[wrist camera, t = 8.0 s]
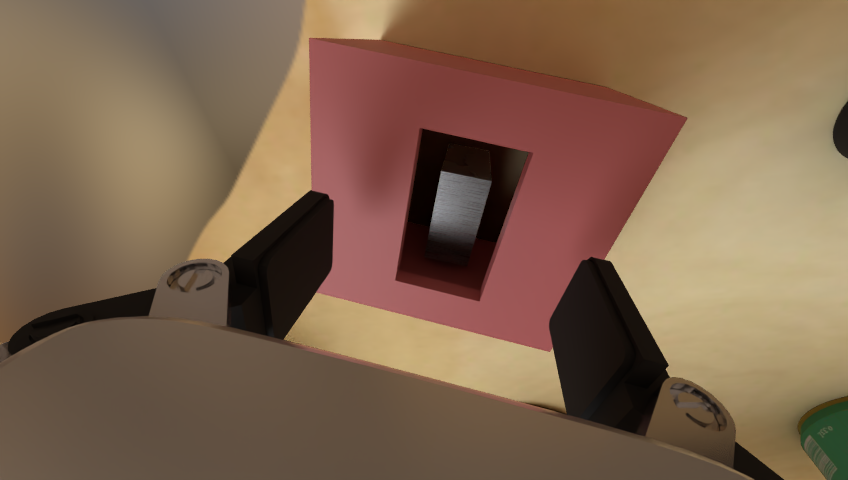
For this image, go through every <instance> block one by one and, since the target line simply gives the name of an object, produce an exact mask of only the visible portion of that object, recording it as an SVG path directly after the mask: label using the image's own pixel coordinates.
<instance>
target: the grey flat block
mask: <svg viewBox="0 0 848 480" xmlns="http://www.w3.org/2000/svg"><path fill="white" fill-rule="evenodd" d="M491 183H492V177H491V166H490V155H489V151H488V150H483V149H478V148H473V147H468V146H463V145H459V144H454V143H449V146H448V149H447V153H446V156H445V159H444V163H443V166H442V170H441V174H440V179H439V184H438V189H437V194H436V199H435V204H434V210H433V215H432V220H431V225H430V230H429V235H428V240H427V245H426V250H425V255H424V257H426V258H430V259H435V260H440V261H444V262H449V263H454V264H458V265H463V266H467V265H468V262H469V259H470V255H471V252H472V248H473V245H474V241H475V238H476V234H477V231H478V228H479V224H480V221H481V217H482V214H483V210H484V207H485V203H486V200H487V197H488V193H489V190H490V186H491Z"/></svg>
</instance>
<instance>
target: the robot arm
mask: <svg viewBox="0 0 848 480" xmlns="http://www.w3.org/2000/svg"><path fill="white" fill-rule="evenodd" d="M333 225H334V201H333V200H332V199H330V198H329V195H328V194H325V193H321V192H316V191H312V190H311V191H309V192H308V193H306V194H305V195H304V196H303V197H302V198H300V199H299V200H298V201H297V202H295V203H294V204H293V205H292V206H291V207H289V208H288V209H287V210H286V211H285V212H283V213H282V214H281V215H280V216H278V217H277V218H276V219H275V220H274V221H272V222H271V223H270V224H269V225H268V226H266V227H265V228H264V229H263V230H261V231H260V232H259V233H258V234H257V235H255V236H254V237H253V238H252V239H251V240H249V241H248V242H247V243H246V244H244V245H243V246H242V247H241V248H240V249H238V250H237V251H236V252H235V253H233V254H232V255H231V257H230V258H229V259H228V260H227V261H225V262H224V263H222V262H220V261H217V260H212V259H196V260H190V261H186V262H183V263H180V264H178V265H176V266H174V267H172V268H170V269H168V270H167V271H166V272H165V273H164V274H163V275H162V276H161V278H160V280H159V282H158V286H157V288H155V289H151V290H146V291H142V292H137V293H133V294H129V295H124V296H119V297H114V298H110V299H106V300H101V301H97V302H92V303H87V304H83V305H78V306H74V307H69V308H64V309H61V310H57V311H54V312H50V313H48V314H46V315H43V316H41V317H38V318H36V319H34V320H32V321H31V322H29V323H28V324H26V325H24V326H23V327H21V328H20V329H19V330H18V331H17V332H16V333H15V334H14V335H13V336H12V337H11V339H10V341H9V342H6V343H3V344H2V343H1V342H0V480H784V479H783V478H781V477H780V476H779V475H777V474H776V473H775V472H774V471H772V470H771V469H770V468H768V467H767V466H766V465H765V464H763V463H762V462H761V461H760V460H758V459H757V458H756V457H754V456H753V455H752V454H751V453H749V452H748V451H747V450H746V449H744V448H743V447H742V446H740V445H739V444H738V443H737V442H735V434H736V430H735V424H734V421H733V419H732V417H731V416H730V414H729V412H728V411H727V410H726V409H725V407H724V406H723V405H722V404H721V403H720V402H719V401H718V400H717V399H716V398H715V397H714V396H713V395H712V394H710V393H709V392H708V391H706V390H705V389H703V388H702V387H700V386H698V385H697V384H695V383H693V382H691V381H688V380H685V379H682V378H676V377H671V378H670V377H669V375H668V373H667V371H666V368H667V367H668V366H669V365H668V363H667V361H666V360H665V358H664V356H663V354H662V352H661V351H660V349H659V347H658V345H657V343H656V342H655V340H654V338H653V336H652V334H651V333H650V331H649V329H648V327H647V325H646V324H645V322H644V320H643V318H642V316H641V315H640V313H639V311H638V309H637V307H636V306H635V304H634V302H633V300H632V299H631V297H630V295H629V293H628V291H627V290H626V288H625V286H624V284H623V282H622V281H621V279H620V277H619V275H618V273H617V272H616V270H615V268H614V266H613V264H612V263H611V262H610V261H607V260H603V259H598V258H594V257H590V258H589V259H587V260H582V261H581V263H580V264H579V266H578V268H577V270H576V272H575V273H574V275H573V277H572V279H571V281H570V283H569V285H568V286H567V288H566V290H565V292H564V294H563V296H562V297H561V299H560V301H559V303H558V305H557V307H556V308H555V310H554V312H553V314H552V316H551V318H550V321H549V331H550V335H551V340H552V345H553V350H554V355H555V359H556V364H557V369H558V374H559V379H560V383H561V388H562V393H563V398H564V402H565V407H566V412H567V415H566V414H563V413H559V412H556V411H552V410H549V409H545V408H540V407H537V406H533V405H529V404H526V403H522V402H518V401H515V400H511V399H507V398H503V397H500V396H496V395H492V394H489V393H485V392H481V391H477V390H474V389H470V388H466V387H462V386H458V385H455V384H451V383H447V382H443V381H440V380H436V379H432V378H428V377H424V376H421V375H417V374H413V373H409V372H406V371H402V370H398V369H394V368H390V367H387V366H383V365H379V364H375V363H371V362H367V361H363V360H360V359H356V358H352V357H348V356H344V355H340V354H336V353H333V352H329V351H325V350H321V349H317V348H313V347H309V346H305V345H302V344H298V343H294V342H290V341H286V340H283V339H284V338H285V336H286V335H287V333H288V332H289V331H290V329H291V328H292V326H293V325H294V323H295V322H296V321H297V319H298V318H299V316H300V315H301V313H302V312H303V310H304V309H305V308H306V306H307V305H308V303H309V302H310V300H311V299H312V297H313V296H314V295H315V293H316V292H317V290H318V289H319V287H320V286H321V285H322V283H323V282H324V280H325V279H326V277H327V276H328V274H329V273H330V271H331V268H332V263H333Z"/></svg>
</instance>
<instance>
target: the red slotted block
mask: <svg viewBox="0 0 848 480" xmlns="http://www.w3.org/2000/svg"><path fill="white" fill-rule="evenodd" d="M309 58H310V117H311V177H312V191H316V192H321V193H325V194H328V195H329V198H330V199H332V200H333V201H334V225H333V263H332V268H331V271H330V273H329V274H328V276H327V277H326V279H325V280H324V282H323V283H322V285H321V286H320V287H319V289H318V290H317V293H321V294H325V295H329V296H333V297H336V298H340V299H344V300H348V301H352V302H356V303H360V304H364V305H368V306H372V307H376V308H380V309H384V310H387V311H391V312H395V313H399V314H403V315H407V316H411V317H415V318H419V319H423V320H427V321H431V322H435V323H438V324H442V325H446V326H450V327H454V328H458V329H462V330H466V331H470V332H474V333H478V334H482V335H486V336H490V337H493V338H497V339H501V340H505V341H509V342H513V343H517V344H521V345H525V346H529V347H533V348H537V349H541V350H544V351H548V352H550V351H551V349H552V347H553V345H552V340H551V335H550V331H549V321H550V318H551V316H552V314H553V312H554V310H555V308H556V307H557V305H558V303H559V301H560V299H561V297H562V296H563V294H564V292H565V290H566V288H567V286H568V285H569V283H570V281H571V279H572V277H573V275H574V273H575V272H576V270H577V268H578V266H579V264H580V263H581V261H582V260H587V259H589V258H590V257H594V258H598V259H603V260H604V259H605V257H606V256H607V254H608V252H609V251H610V249H611V247H612V245H613V244H614V242H615V240H616V239H617V237H618V235H619V234H620V232H621V230H622V228H623V227H624V225H625V223H626V222H627V220H628V218H629V217H630V215H631V213H632V212H633V210H634V208H635V206H636V205H637V203H638V201H639V200H640V198H641V196H642V195H643V193H644V191H645V189H646V188H647V186H648V184H649V183H650V181H651V179H652V178H653V176H654V174H655V172H656V171H657V169H658V167H659V166H660V164H661V162H662V161H663V159H664V157H665V155H666V154H667V152H668V150H669V149H670V147H671V145H672V144H673V142H674V140H675V138H676V137H677V135H678V133H679V132H680V130H681V128H682V127H683V125H684V123H685V121H686V120H687V117H684V116H681V115H679V114H676V113H673V112H671V111H668V110H665V109H663V108H660V107H657V106H655V105H652V104H650V103H647V102H644V101H642V100H639V99H636V98H634V97H631V96H628V95H626V94H623V93H620V92H618V91H615V90H612V89H610V88H607V87H603V86H598V85H593V84H588V83H583V82H579V81H574V80H569V79H564V78H560V77H555V76H550V75H545V74H540V73H536V72H531V71H526V70H521V69H517V68H512V67H507V66H502V65H497V64H493V63H488V62H483V61H478V60H473V59H469V58H464V57H459V56H454V55H450V54H445V53H440V52H435V51H430V50H426V49H421V48H416V47H411V46H407V45H402V44H397V43H392V42H387V41H383V40H365V39H330V38H309ZM423 129H428V130H432V131H437V132H441V133H446V134H450V135H455V136H459V137H464V138H468V139H473V140H477V141H482V142H486V143H491V144H495V145H499V146H504V147H508V148H513V149H517V150H522V151H526V152H529V153H528V156H527V159H526V162H525V165H524V167H523V170H522V173H521V176H520V179H519V182H518V184H517V187H516V190H515V193H514V196H513V199H512V201H511V204H510V207H509V210H508V213H507V216H506V218H505V221H504V224H503V227H502V230H501V233H500V235H499V238H498V241H497V243H495V242H490V241H486V240H482V239H478V238H475V241H474V245H473V248H472V252H471V255H470V259H469V262H468V265H467V266H463V265H458V264H454V263H449V262H444V261H440V260H435V259H430V258H426V257H424V255H425V250H426V245H427V240H428V235H429V230H430V227H428V226H423V225H419V224H415V223H411V222H407V220H408V214H409V208H410V202H411V196H412V190H413V184H414V178H415V172H416V166H417V160H418V154H419V148H420V142H421V136H422V130H423Z"/></svg>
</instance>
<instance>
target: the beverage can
mask: <svg viewBox="0 0 848 480" xmlns="http://www.w3.org/2000/svg"><path fill="white" fill-rule="evenodd" d="M798 431H799V434H800V435H801V445H802V448H803V449H804V451H805V452H806V453H807V454H808V456H809V457H810V458H811V460H812V461H813V462H814V464H815V465H816V466H817V467H818V469H819V470H820V471H821V473H822V474H823V475H824V477H825V478H826V479H827V480H848V397H843V398H839V399H835V400H832V401H829V402H826V403H823V404H821V405H819V406H817V407H815V408H813V409H811V410H810V411H808V412H807V413H806V414H805V415H804V416H803V417H802V418H801V419H800V421H799V423H798Z"/></svg>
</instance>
